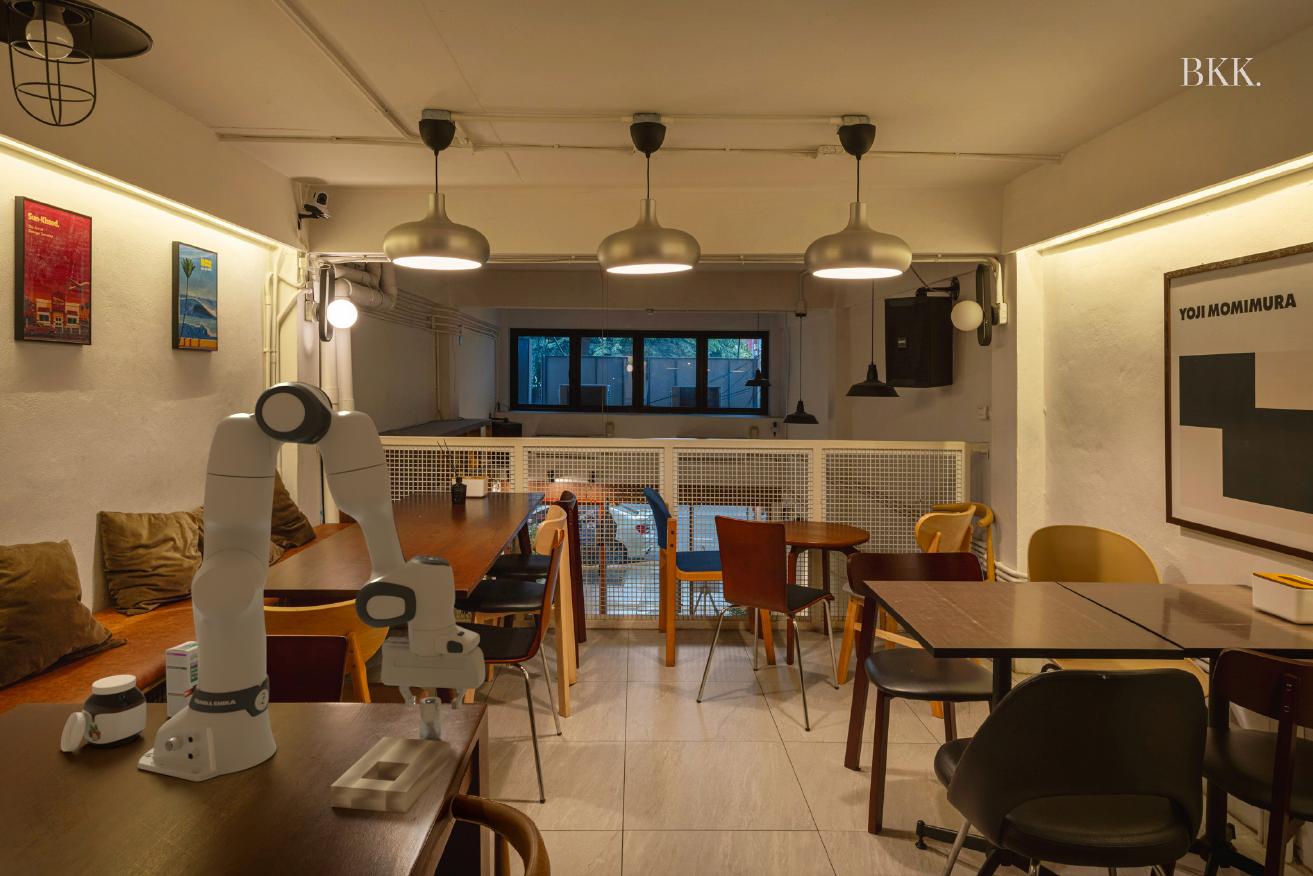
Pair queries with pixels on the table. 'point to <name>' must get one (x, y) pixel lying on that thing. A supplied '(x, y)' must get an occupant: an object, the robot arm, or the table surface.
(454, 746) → the table surface
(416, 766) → the frame
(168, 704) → the syrup box
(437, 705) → the bushing
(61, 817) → the table surface
